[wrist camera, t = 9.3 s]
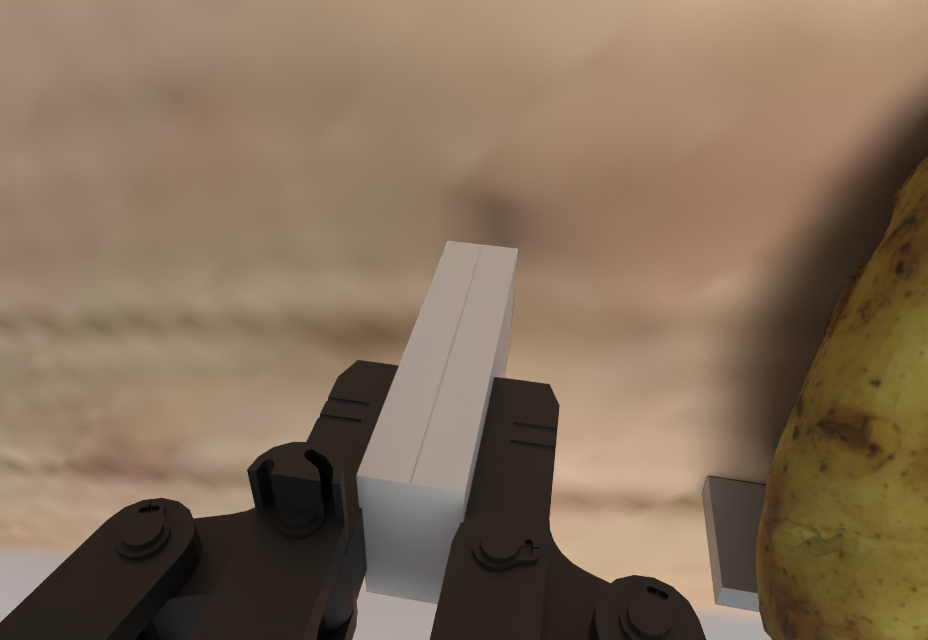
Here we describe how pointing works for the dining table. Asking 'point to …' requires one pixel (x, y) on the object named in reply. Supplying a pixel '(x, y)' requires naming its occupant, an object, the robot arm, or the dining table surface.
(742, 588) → the box
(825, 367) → the potato
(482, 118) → the dining table surface
